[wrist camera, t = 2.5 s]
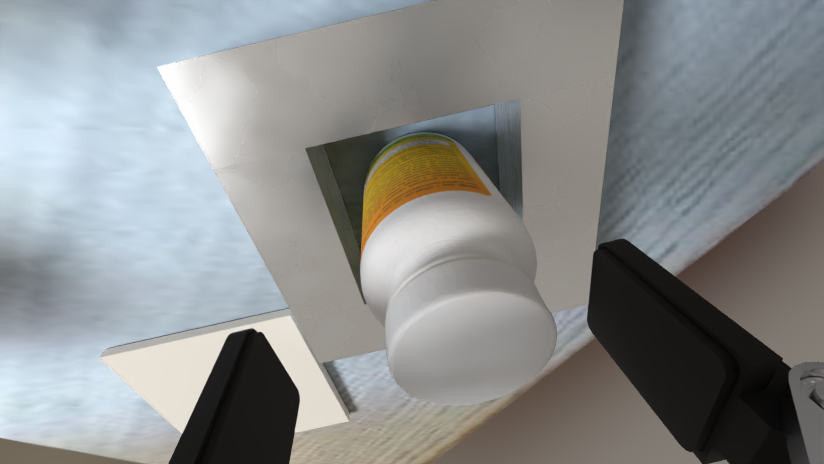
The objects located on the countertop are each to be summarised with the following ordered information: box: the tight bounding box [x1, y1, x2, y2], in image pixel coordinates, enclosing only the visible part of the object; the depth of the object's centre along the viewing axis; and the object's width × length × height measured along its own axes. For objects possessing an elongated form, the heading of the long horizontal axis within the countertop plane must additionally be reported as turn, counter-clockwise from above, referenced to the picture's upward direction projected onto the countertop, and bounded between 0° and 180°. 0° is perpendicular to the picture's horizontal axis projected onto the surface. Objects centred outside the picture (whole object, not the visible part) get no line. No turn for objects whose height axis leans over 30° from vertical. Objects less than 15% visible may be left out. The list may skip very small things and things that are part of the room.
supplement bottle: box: [360, 132, 557, 405], centre depth 12 cm, size 5×5×10 cm
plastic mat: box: [99, 308, 350, 433], centre depth 22 cm, size 11×11×1 cm
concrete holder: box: [157, 0, 624, 363], centre depth 15 cm, size 14×14×3 cm
